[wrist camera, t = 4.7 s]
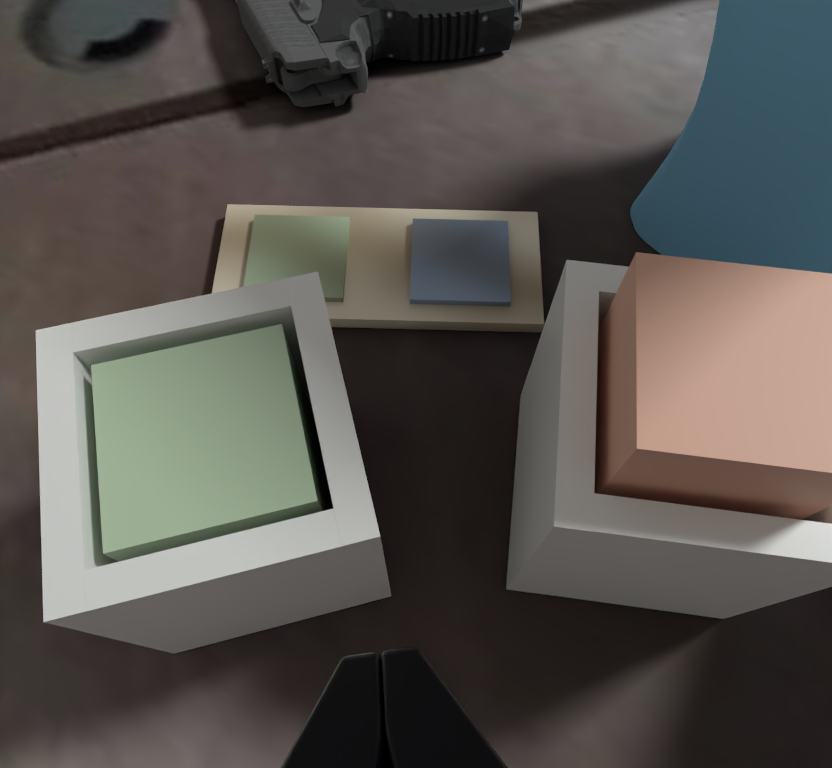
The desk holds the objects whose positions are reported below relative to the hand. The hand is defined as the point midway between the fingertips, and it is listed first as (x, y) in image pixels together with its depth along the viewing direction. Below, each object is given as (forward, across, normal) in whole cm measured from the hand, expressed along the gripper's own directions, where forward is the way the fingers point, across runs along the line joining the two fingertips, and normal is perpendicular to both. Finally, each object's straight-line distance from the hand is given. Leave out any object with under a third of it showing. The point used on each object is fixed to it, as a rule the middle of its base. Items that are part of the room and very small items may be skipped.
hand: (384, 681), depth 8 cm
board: (+20, -1, -1) cm, 20 cm away
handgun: (+33, -1, -12) cm, 35 cm away
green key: (+13, +4, +5) cm, 14 cm away
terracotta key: (+11, -8, +4) cm, 14 cm away
